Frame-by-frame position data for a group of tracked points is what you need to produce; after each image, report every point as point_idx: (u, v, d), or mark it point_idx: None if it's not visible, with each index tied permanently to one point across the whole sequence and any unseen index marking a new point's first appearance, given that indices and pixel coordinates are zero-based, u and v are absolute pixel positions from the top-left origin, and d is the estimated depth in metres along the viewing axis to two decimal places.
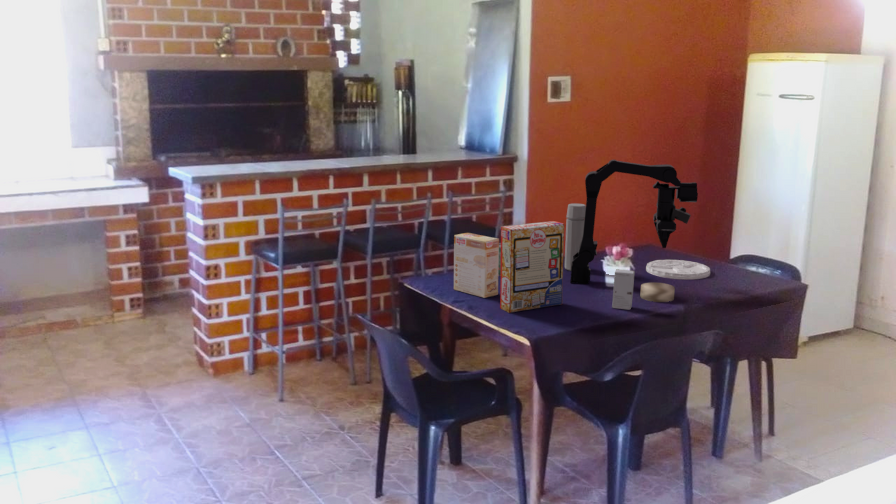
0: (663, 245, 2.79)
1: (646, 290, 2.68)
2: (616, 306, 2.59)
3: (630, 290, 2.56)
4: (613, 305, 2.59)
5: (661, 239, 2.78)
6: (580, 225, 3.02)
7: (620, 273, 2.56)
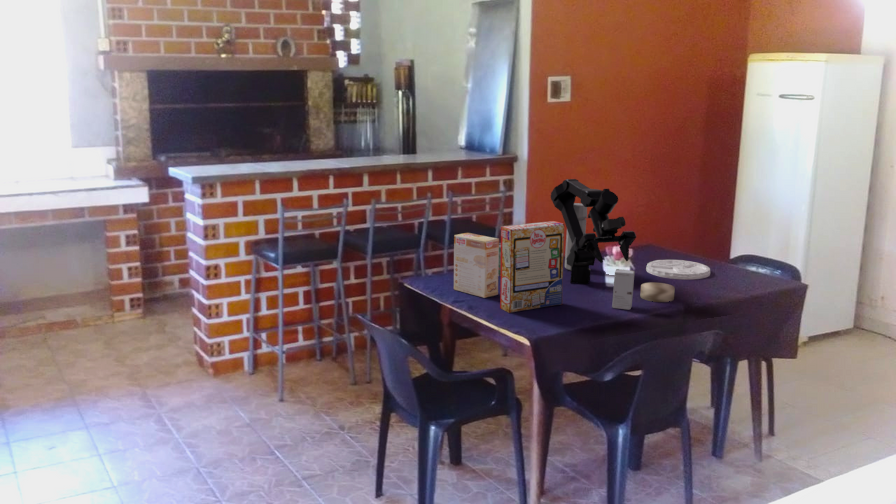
0: (599, 260, 2.64)
1: (646, 290, 2.68)
2: (616, 306, 2.59)
3: (630, 290, 2.56)
4: (613, 305, 2.59)
5: (595, 256, 2.66)
6: (581, 224, 3.03)
7: (620, 273, 2.56)
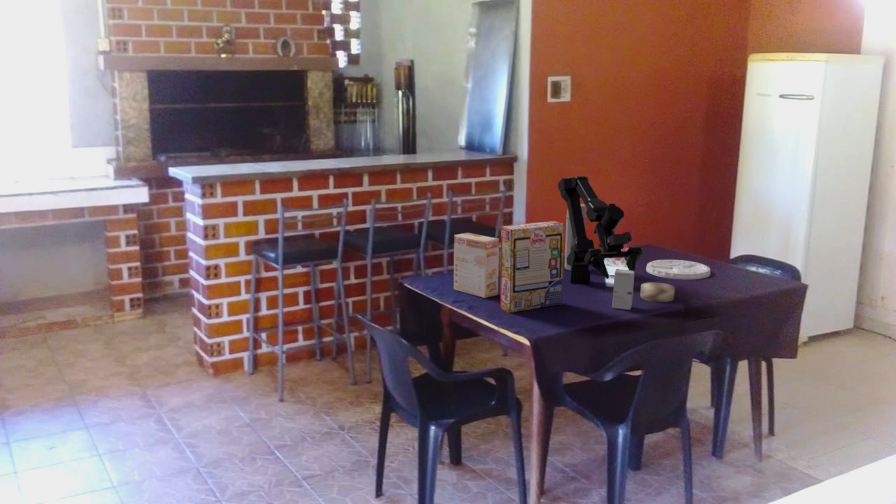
0: (605, 276, 2.60)
1: (646, 290, 2.68)
2: (616, 306, 2.59)
3: (630, 290, 2.56)
4: (613, 305, 2.59)
5: (600, 271, 2.61)
6: None
7: (620, 273, 2.56)
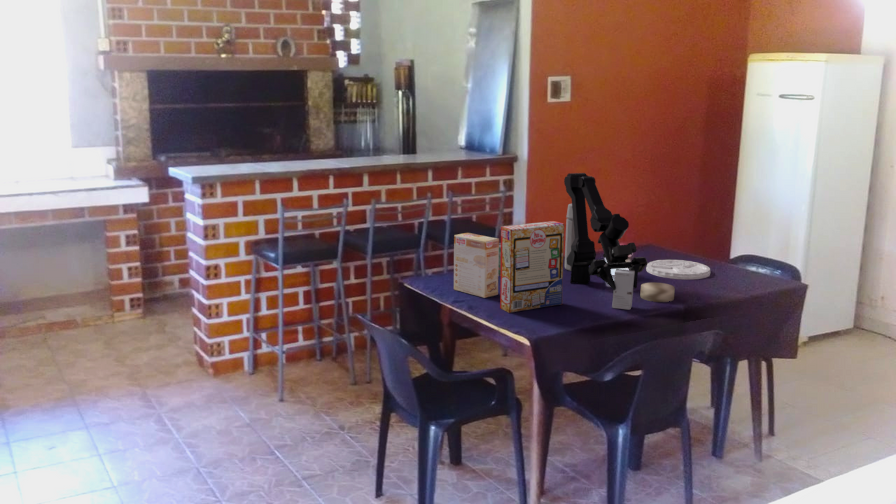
0: (612, 287, 2.57)
1: (646, 290, 2.68)
2: (616, 306, 2.59)
3: (630, 290, 2.56)
4: (613, 305, 2.59)
5: (607, 282, 2.59)
6: None
7: (620, 273, 2.56)
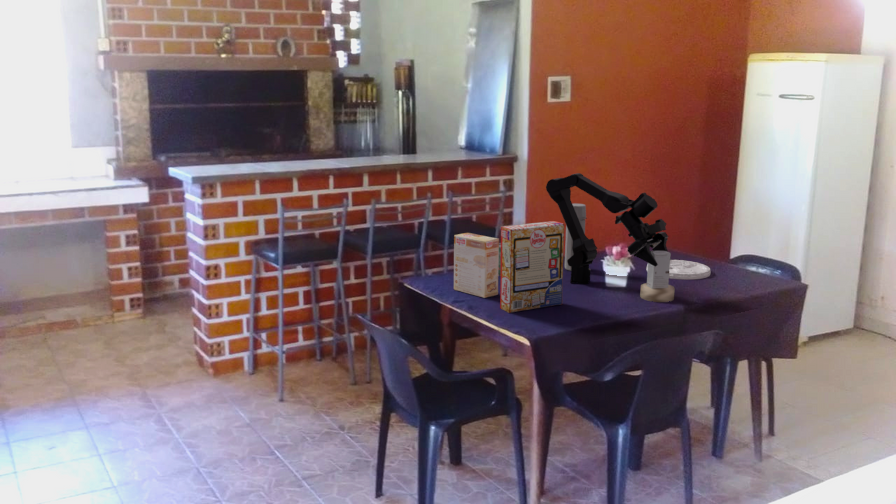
0: (653, 264, 2.65)
1: (646, 290, 2.68)
2: (656, 286, 2.68)
3: (668, 269, 2.68)
4: (654, 286, 2.68)
5: (646, 260, 2.66)
6: None
7: (659, 254, 2.67)
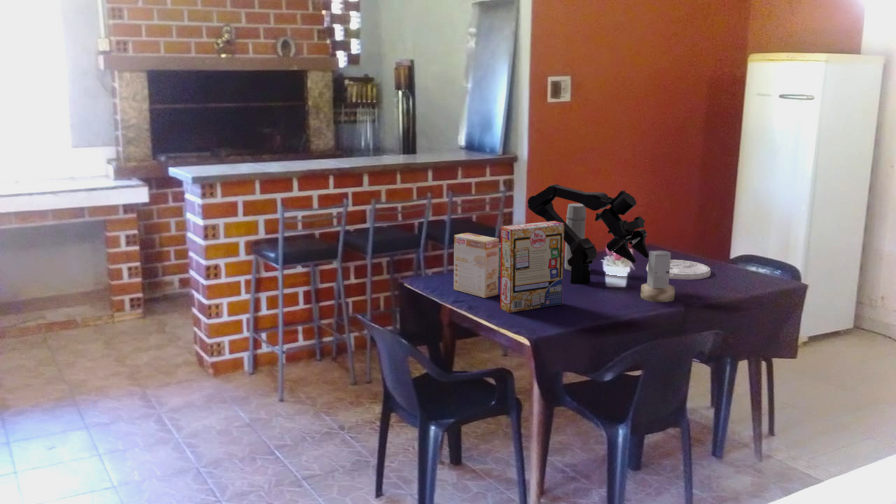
0: (631, 260, 2.70)
1: (646, 290, 2.68)
2: (656, 286, 2.69)
3: (668, 269, 2.69)
4: (654, 286, 2.68)
5: (625, 257, 2.71)
6: (580, 225, 3.02)
7: (660, 254, 2.67)
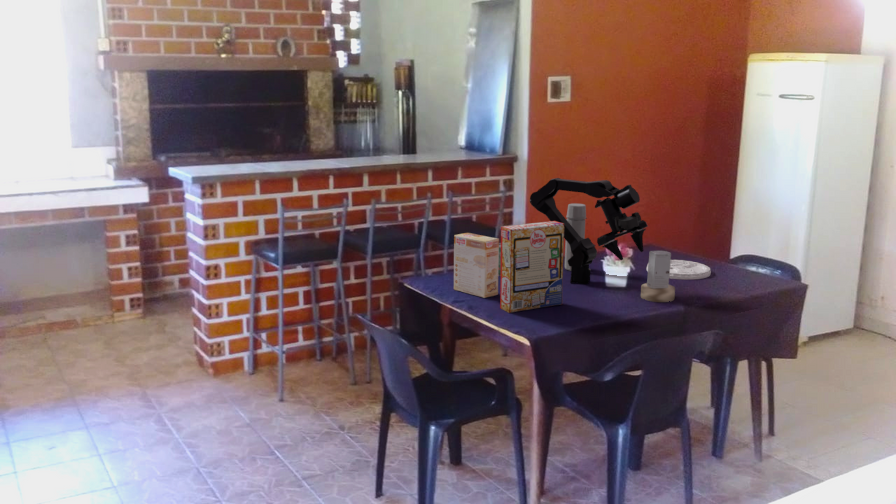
0: (619, 257, 2.75)
1: (646, 290, 2.68)
2: (656, 286, 2.68)
3: (668, 269, 2.68)
4: (654, 286, 2.68)
5: (614, 253, 2.76)
6: (580, 225, 3.02)
7: (660, 254, 2.66)
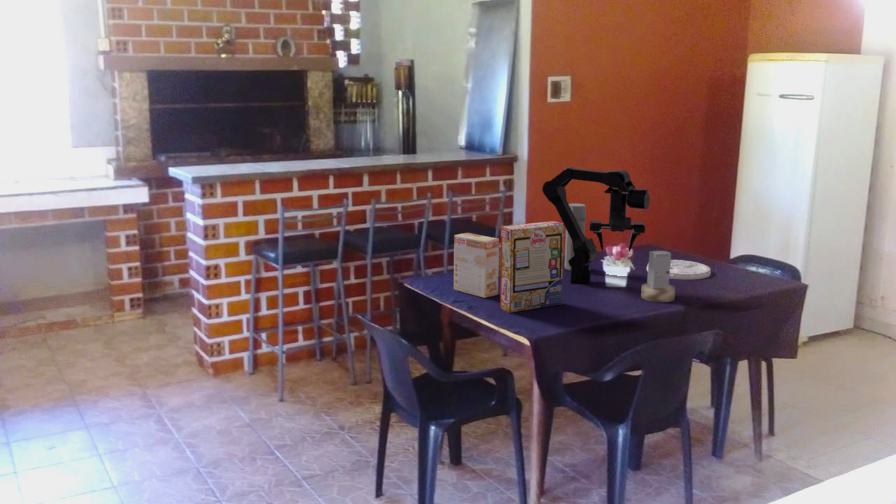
0: (601, 247, 2.83)
1: (647, 291, 2.68)
2: (657, 287, 2.68)
3: (668, 269, 2.68)
4: (654, 286, 2.68)
5: None
6: (580, 225, 3.02)
7: (660, 254, 2.66)
